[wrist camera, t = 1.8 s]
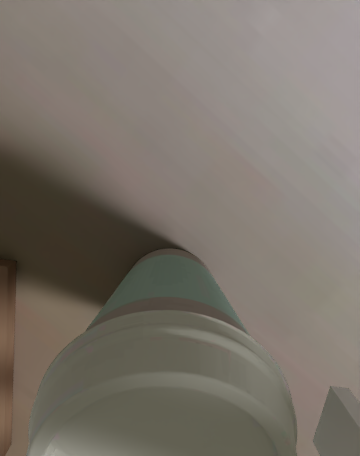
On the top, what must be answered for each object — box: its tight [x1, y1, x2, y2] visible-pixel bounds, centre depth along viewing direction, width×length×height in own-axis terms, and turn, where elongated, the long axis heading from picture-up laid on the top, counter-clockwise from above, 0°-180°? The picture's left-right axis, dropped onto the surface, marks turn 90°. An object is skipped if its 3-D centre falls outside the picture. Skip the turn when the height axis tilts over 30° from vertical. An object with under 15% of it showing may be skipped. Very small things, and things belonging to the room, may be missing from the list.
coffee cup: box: [26, 249, 297, 456], centre depth 14 cm, size 9×8×12 cm
